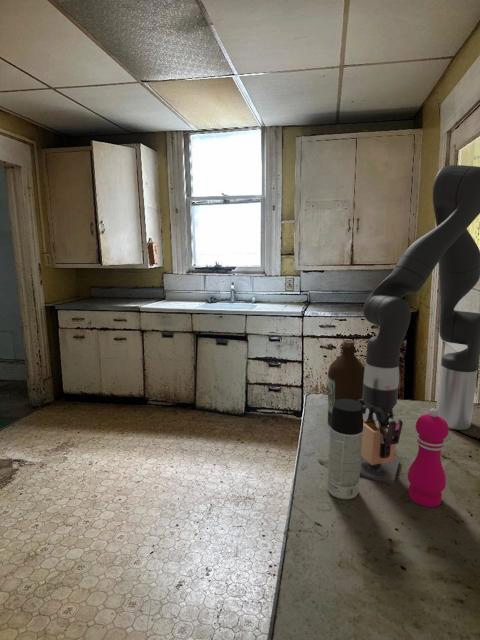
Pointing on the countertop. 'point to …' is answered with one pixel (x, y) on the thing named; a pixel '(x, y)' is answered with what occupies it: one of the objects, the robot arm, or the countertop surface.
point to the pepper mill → (428, 460)
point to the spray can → (345, 448)
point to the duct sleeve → (374, 445)
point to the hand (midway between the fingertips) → (375, 449)
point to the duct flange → (380, 470)
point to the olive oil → (345, 377)
